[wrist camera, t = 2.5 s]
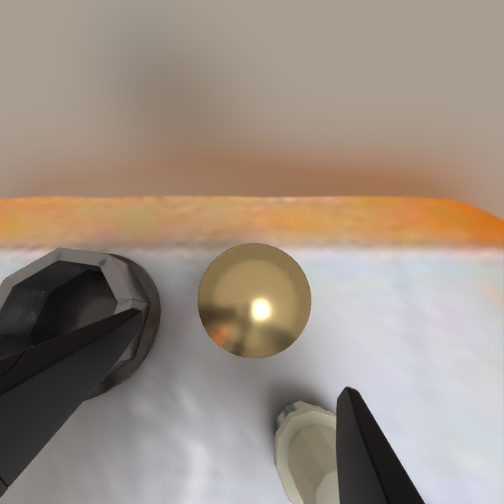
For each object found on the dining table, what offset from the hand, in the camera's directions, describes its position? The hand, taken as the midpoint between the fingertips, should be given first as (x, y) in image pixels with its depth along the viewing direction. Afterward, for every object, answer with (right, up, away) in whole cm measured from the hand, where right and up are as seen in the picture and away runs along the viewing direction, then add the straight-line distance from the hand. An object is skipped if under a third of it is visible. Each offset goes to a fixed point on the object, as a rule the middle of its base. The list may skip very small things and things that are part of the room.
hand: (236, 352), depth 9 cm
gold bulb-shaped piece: (+1, -1, +10) cm, 10 cm away
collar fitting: (-13, -2, +10) cm, 17 cm away
